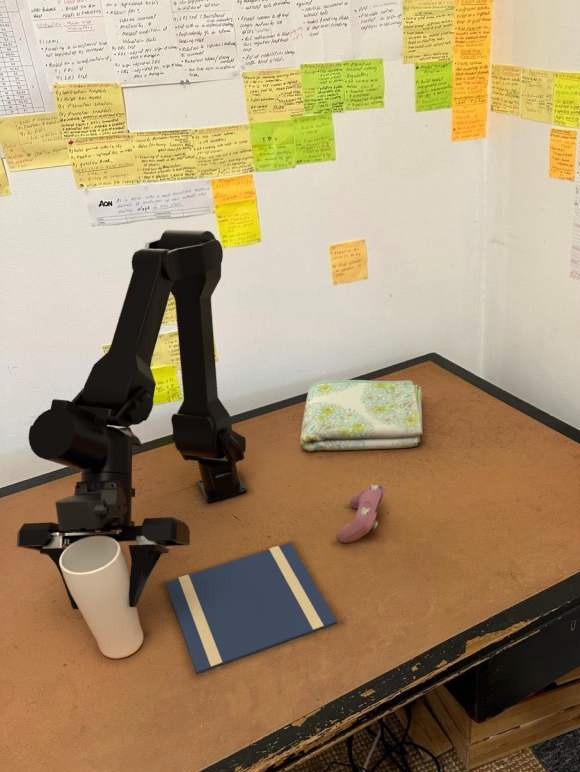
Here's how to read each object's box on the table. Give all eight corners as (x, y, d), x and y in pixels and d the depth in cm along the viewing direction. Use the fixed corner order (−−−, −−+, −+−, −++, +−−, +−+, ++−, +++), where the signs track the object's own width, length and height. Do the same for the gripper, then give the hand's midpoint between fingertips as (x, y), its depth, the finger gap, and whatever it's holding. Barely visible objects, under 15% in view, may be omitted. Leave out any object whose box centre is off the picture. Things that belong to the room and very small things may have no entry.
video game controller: (361, 555, 107) (380, 522, 103) (332, 541, 106) (350, 507, 102) (375, 514, 115) (394, 481, 110) (349, 501, 114) (366, 468, 110)
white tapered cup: (121, 673, 89) (87, 582, 80) (82, 652, 92) (44, 561, 83) (162, 636, 94) (133, 545, 84) (123, 617, 96) (91, 527, 87)
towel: (425, 449, 126) (425, 423, 123) (300, 454, 127) (296, 428, 124) (422, 398, 141) (421, 374, 138) (310, 403, 141) (307, 379, 138)
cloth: (166, 584, 102) (165, 581, 101) (290, 544, 107) (290, 541, 107) (196, 674, 88) (195, 671, 88) (337, 623, 94) (337, 620, 94)
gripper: (-7, 466, 82) (-14, 609, 80) (161, 459, 81) (159, 603, 79) (42, 485, 93) (38, 611, 91) (191, 478, 92) (191, 605, 90)
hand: (104, 608), depth 87 cm, fingers closed on white tapered cup, 6 cm apart
